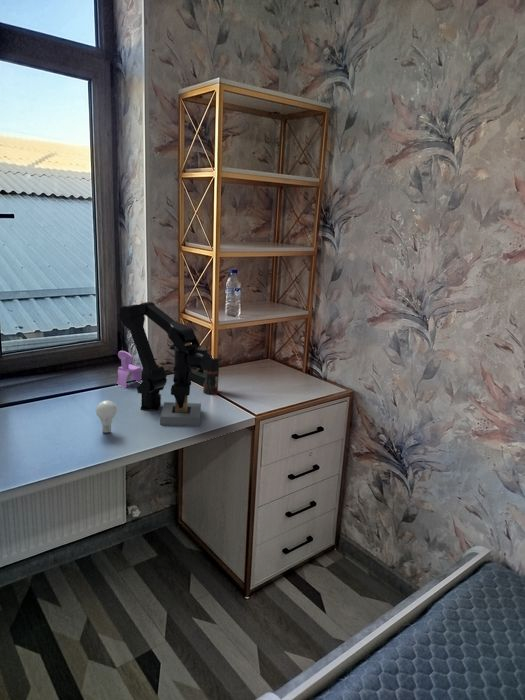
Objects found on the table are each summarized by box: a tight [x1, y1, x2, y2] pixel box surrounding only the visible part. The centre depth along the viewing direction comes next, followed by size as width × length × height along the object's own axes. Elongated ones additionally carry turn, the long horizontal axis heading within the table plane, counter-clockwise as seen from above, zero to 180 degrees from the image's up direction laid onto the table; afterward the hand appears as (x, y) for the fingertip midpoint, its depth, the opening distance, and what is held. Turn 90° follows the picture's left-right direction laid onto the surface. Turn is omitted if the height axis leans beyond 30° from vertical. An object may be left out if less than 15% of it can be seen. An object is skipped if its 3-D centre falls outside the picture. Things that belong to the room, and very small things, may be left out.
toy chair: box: [115, 350, 143, 388], centre depth 204 cm, size 8×9×15 cm
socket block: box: [159, 401, 202, 427], centre depth 176 cm, size 13×13×3 cm
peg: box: [174, 395, 189, 413], centre depth 175 cm, size 4×4×9 cm
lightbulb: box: [95, 399, 118, 434], centre depth 160 cm, size 6×6×11 cm
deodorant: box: [202, 354, 220, 396], centre depth 202 cm, size 6×6×15 cm
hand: (181, 405), depth 176 cm, fingers closed on peg, 4 cm apart
